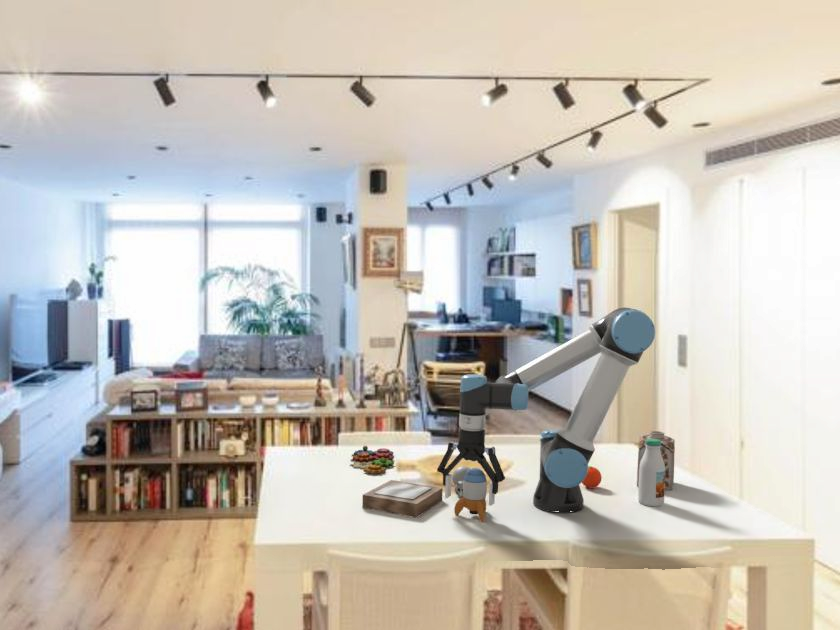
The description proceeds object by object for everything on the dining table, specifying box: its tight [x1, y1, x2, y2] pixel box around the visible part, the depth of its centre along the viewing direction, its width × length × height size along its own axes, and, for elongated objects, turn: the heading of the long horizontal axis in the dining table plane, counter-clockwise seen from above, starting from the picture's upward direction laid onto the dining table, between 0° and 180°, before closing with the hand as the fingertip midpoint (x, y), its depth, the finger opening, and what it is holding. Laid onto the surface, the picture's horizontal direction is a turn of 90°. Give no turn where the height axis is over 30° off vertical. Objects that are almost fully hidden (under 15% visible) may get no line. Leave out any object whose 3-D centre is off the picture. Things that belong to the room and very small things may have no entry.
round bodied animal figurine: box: [451, 465, 471, 500], centre depth 236 cm, size 7×12×8 cm, turn 170°
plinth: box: [361, 479, 443, 518], centre depth 226 cm, size 18×18×4 cm
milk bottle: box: [637, 438, 666, 507], centre depth 231 cm, size 8×8×20 cm
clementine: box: [581, 465, 602, 489], centre depth 247 cm, size 8×7×7 cm
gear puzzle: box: [349, 445, 395, 475], centre depth 273 cm, size 31×16×4 cm, turn 3°
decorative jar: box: [636, 430, 676, 491], centre depth 251 cm, size 12×12×18 cm
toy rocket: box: [453, 467, 488, 523], centre depth 216 cm, size 10×11×15 cm
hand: (469, 500), depth 216 cm, fingers open, 13 cm apart
